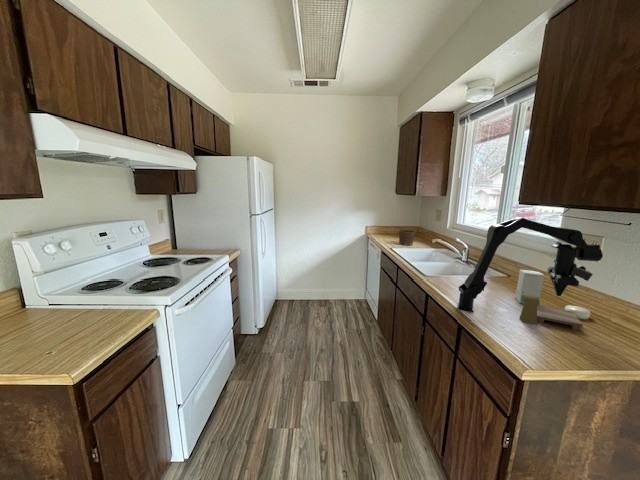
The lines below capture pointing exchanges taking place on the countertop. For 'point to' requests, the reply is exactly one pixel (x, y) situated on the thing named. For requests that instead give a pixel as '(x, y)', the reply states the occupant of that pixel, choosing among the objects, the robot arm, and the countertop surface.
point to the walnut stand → (558, 316)
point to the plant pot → (406, 237)
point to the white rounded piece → (578, 311)
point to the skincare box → (529, 285)
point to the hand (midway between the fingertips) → (558, 295)
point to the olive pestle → (529, 310)
